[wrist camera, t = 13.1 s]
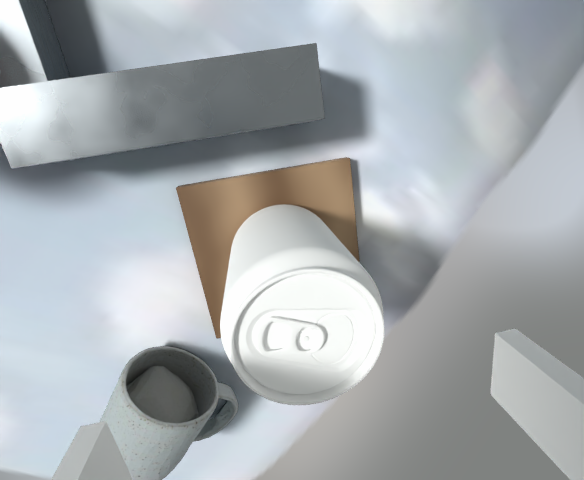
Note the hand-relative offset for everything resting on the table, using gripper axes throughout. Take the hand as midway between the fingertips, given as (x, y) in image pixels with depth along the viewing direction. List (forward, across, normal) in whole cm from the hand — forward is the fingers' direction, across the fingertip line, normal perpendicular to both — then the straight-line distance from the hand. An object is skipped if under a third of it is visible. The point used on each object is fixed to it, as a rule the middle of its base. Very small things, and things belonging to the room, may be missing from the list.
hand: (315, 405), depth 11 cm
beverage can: (+16, +1, 0) cm, 16 cm away
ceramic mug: (+17, -11, -12) cm, 23 cm away
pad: (+17, 0, -1) cm, 17 cm away
